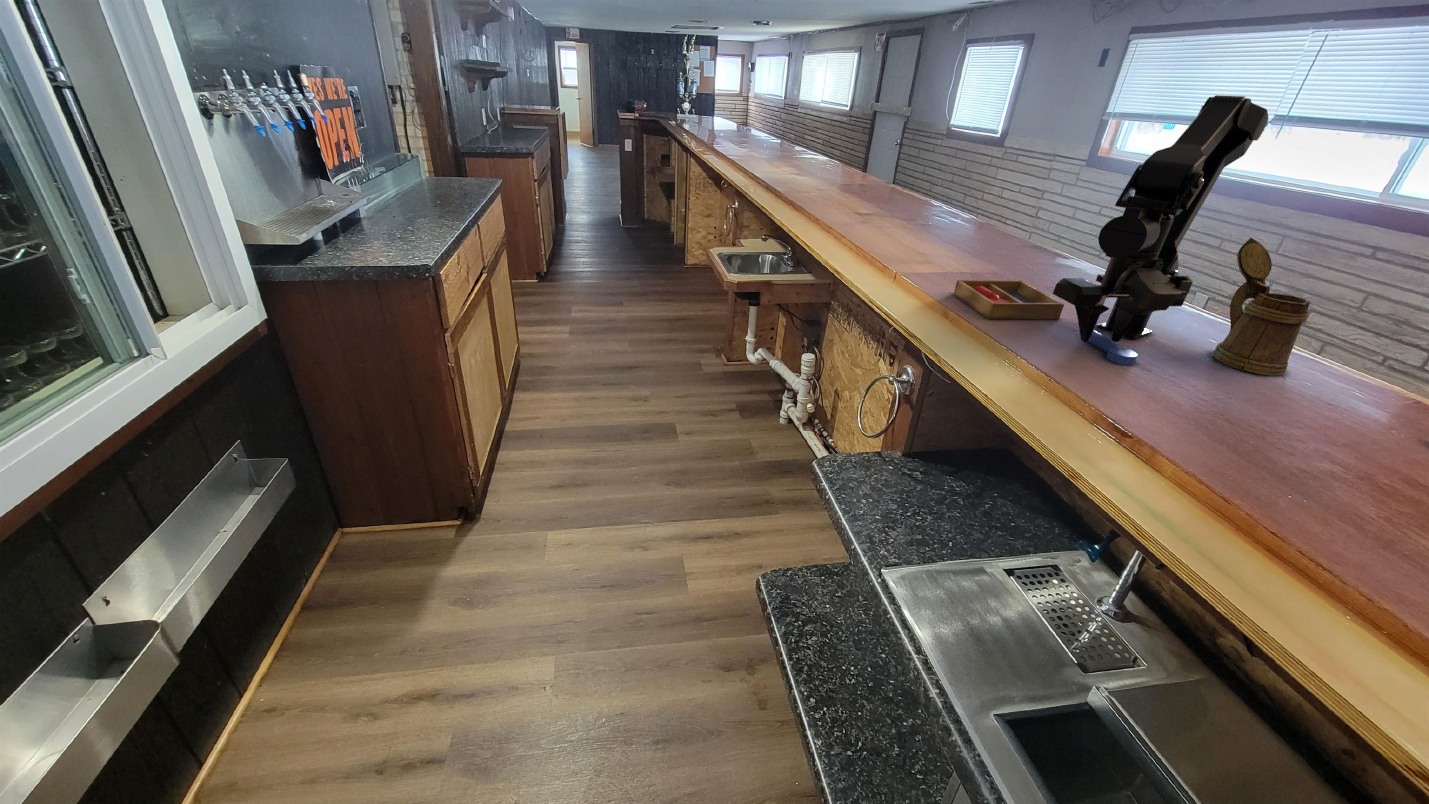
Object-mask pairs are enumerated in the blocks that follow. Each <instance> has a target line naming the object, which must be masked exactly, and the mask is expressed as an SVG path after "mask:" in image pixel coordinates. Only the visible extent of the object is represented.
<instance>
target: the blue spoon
mask: <svg viewBox="0 0 1429 804" xmlns="http://www.w3.org/2000/svg"><path fill="white" fill-rule="evenodd" d="M1087 343H1089V344H1092V345H1093V346H1094V347H1097V348H1098V349H1100V350H1102V351H1103V352H1105V353H1106V358H1107V360H1108V361H1110V362H1112V363H1115V364H1119V365H1123V366H1124V365H1125V366H1132V365H1134V364H1135V362H1136V360H1137V358H1138V353H1136V352H1135V351H1133V350H1131V349H1128V348H1124V347H1122V346H1121V345H1120V344H1119V342H1114V341H1112V338H1109V337H1107V336H1105V335H1104V334H1101V333H1100V332H1098V331H1096V330H1093V332H1092V334H1091V336H1090V338H1089V340H1088V341H1087Z"/></svg>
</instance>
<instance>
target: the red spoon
mask: <svg viewBox="0 0 1429 804" xmlns="http://www.w3.org/2000/svg"><path fill="white" fill-rule="evenodd" d="M975 290H976V291H977V292H979V293H980V294H982V295H983V296H985V297H986V298H988V299H989V300H991V301H992V302H994V303H1010V302H1009V301H1007V300H1004V299H999V297H998V296H997V295H996V294H994V293H993V292H991V291H989V290H988V289H986V288H985V287H983V286H978V287H977V288H976V289H975Z"/></svg>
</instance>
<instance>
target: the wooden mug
mask: <svg viewBox="0 0 1429 804" xmlns="http://www.w3.org/2000/svg"><path fill="white" fill-rule="evenodd" d="M1236 260H1237V261H1236V262H1237V266H1238V269H1239V272H1240V274H1241V275H1242V276H1243V278H1244V279H1245V282H1244V283H1242V284H1241V285H1240V286H1239V287H1238V288H1237V289H1236V291H1235V292H1234V294H1233V295H1232V297H1231V301H1230V305H1229V320H1230V325H1229V326H1230V329H1229V331H1228V334H1226V335H1227V336H1225V338H1224V339H1223V341H1220V342H1218V343H1217V345H1216V346H1215V349H1214V350H1213V353H1212V355H1213V358H1214V359H1216V360H1217V361H1218V362H1220V363H1221V364H1224V365H1225V366H1228V367H1230V368H1233V369H1237V370H1240V371H1244V372H1248V373H1251V374H1256V375H1262V376H1282V375H1284V374H1285V373H1286V372H1287V369H1288V365H1289V362H1288V361H1289V359H1290V356H1291V354H1292V351H1293V349H1294V346H1295V343H1296V341H1297V338H1298V335H1299V333H1300V330H1301V328H1302V326H1303V323H1305V322H1307V319H1308V316H1309V313H1310V312H1309V307H1310V304H1311V300H1309V299H1307V298H1304V297H1301V296H1297V295H1293V294H1287V293H1286V294H1285V293H1277V292H1270V290H1271V287H1270V286H1269V285H1267V283H1266V279H1267V278H1268V277H1269V275H1270V273H1271V272H1272V266H1273V264H1272V258H1271V255H1270V253H1269V251H1268V250H1267V249H1266V247H1265V246H1264V245H1263V244H1262V243H1260V242H1259V241H1258V240H1256V239H1255V238H1253V237H1249V239H1247V240H1246V241H1245V242H1244V243H1243V244H1242V245H1241V246H1240V248H1239V249H1238V251H1237V254H1236ZM1249 299H1251V300H1250V301H1249V302H1247V303H1246V304H1245V306H1244V307H1243V305H1244V303H1245V302H1246V301H1247V300H1249Z"/></svg>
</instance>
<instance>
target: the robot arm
mask: <svg viewBox="0 0 1429 804" xmlns="http://www.w3.org/2000/svg"><path fill="white" fill-rule="evenodd" d="M1268 121H1269V111H1268V109H1267V108H1265V107H1263V106H1261V105H1258V104H1255V103H1254V102H1252V99H1251V98H1249V97H1247V96H1244V95H1214V96H1209V97H1208V98H1207V99H1206V100H1205V102H1204V104H1203V105H1202V106H1201V107H1200V110H1199V111H1198V114H1197V116H1196V117H1195V119H1194V120H1193V121H1192V122H1191V123H1190V125H1189V126H1188V127H1187V128H1186V129H1185V130H1184V131H1183V132H1182V133H1181V135H1180V136H1179V137H1178V138H1177V140H1176V141H1175V142H1174V143H1173V144H1172V145H1171V146H1168V147H1165V148H1162V149H1158V150H1156V151H1154V152H1153V153H1152V154H1151V155H1150V156H1149V157H1148V158H1146V160H1145V161H1144V162H1143V163H1141V164H1139V165H1138V166H1137V167H1136V169H1135V170H1134V172H1133V174H1132V175H1131V177H1130V179H1129V180H1128V182H1127V183H1126V185H1125V187H1124V188H1123V190H1122V192H1121V194H1120V195H1119V197H1118V199H1117V200H1116V202H1115V204H1114V206H1115V207H1119V208H1123V209H1124V211H1123V213H1122V215H1120V216H1116V217H1114V218H1111V219H1110V220H1109V221H1107V222H1106V223H1105V224H1104V226H1103V227H1102V228H1101V229H1100V231H1099V234H1098V245H1099V248H1100V249H1101V251H1102V252H1103V253H1104V254H1105V256H1106V257H1107V258H1110V259H1109V262H1108V264H1107V266H1106V269H1105V272H1104V274H1097V276H1096V279H1095V282H1097V283H1100V284H1098V285H1097V284H1096V283H1093V282H1091V281H1089V280H1087V279H1084V278H1082V277H1081V278H1080V277H1077V278H1076V277H1072V278H1071V277H1063V278H1061V279H1059V280H1058V281H1057V282H1056V283H1055V286H1054V289H1053V291H1052V295H1054V296H1056V297H1058V298H1059V299H1062V301H1065V302H1067V303H1068V304H1071V305H1073V306H1074V308H1075V312H1076V316H1077V324H1078V330H1079V337H1080V341H1081V342H1083V343H1088V340H1089V338H1090V336H1091V334H1092V332H1093V331H1095V330H1094V329H1095V328H1099V329H1102V330H1105V331H1108V332H1111V340H1112V341H1114V342H1116V343H1119V342H1120V341H1121V340H1122V338H1124V337H1125V338H1129V339H1132V340H1135V339H1139V338H1141V337H1145V336H1147V335H1150V334H1153V333H1152V332H1153V330H1151V329H1148V328H1147V325H1148V323H1149V320H1150V318H1151V316H1152V314H1153V313H1154V312H1156V311H1159V312H1160V311H1167V310H1168V309H1169V307H1183V305H1184V302H1185V300H1186V298H1187V296H1188V294H1189V293H1190V291H1191V288H1192V286H1193V285H1192V284H1193V280H1192V278H1190V277H1189V275H1179V271H1178V269H1179V266H1180V263H1179V253H1178V247H1179V246H1180V245H1181V242H1182V241H1183V239H1184V237H1185V236H1186V234H1187V232H1188V231H1189V229H1190V227H1191V225H1192V224H1193V222H1194V220H1195V218H1196V217H1197V215H1198V213H1199V211H1200V210H1201V208H1202V206H1203V205H1204V203H1205V201H1206V199H1207V198H1208V196H1209V194H1210V192H1211V191H1212V189H1213V187H1214V186H1215V184H1216V182H1217V181H1218V179H1219V177H1220V175H1221V174H1222V172H1223V170H1224V168H1226V167H1227V166H1229V165H1231V164H1232V163H1234V162H1236V161H1237V160H1238V159H1241V158H1243V156H1245V154H1246V153H1247V151H1248V150H1249V148H1250V147H1251V145H1252V144H1253V142H1254V141H1256V142H1257V141H1258V140H1259V139H1260V138H1261V135H1262V134H1263V132H1264V131H1265V129H1266V126H1267V125H1268ZM1133 194H1134V195H1133ZM1109 298H1110V299H1111V298H1112V299H1113V298H1115V301H1114V304H1113V307H1112V309H1111V311H1110V314H1109V316H1108V319H1107V320H1106V321H1103V322H1099V323H1098V320H1099V318H1100V316H1101V315H1102V314H1104V313H1105V312H1107V311H1109V310H1110V308H1109V307H1108V306H1106V305H1104V304H1105V302H1106V299H1109Z"/></svg>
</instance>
